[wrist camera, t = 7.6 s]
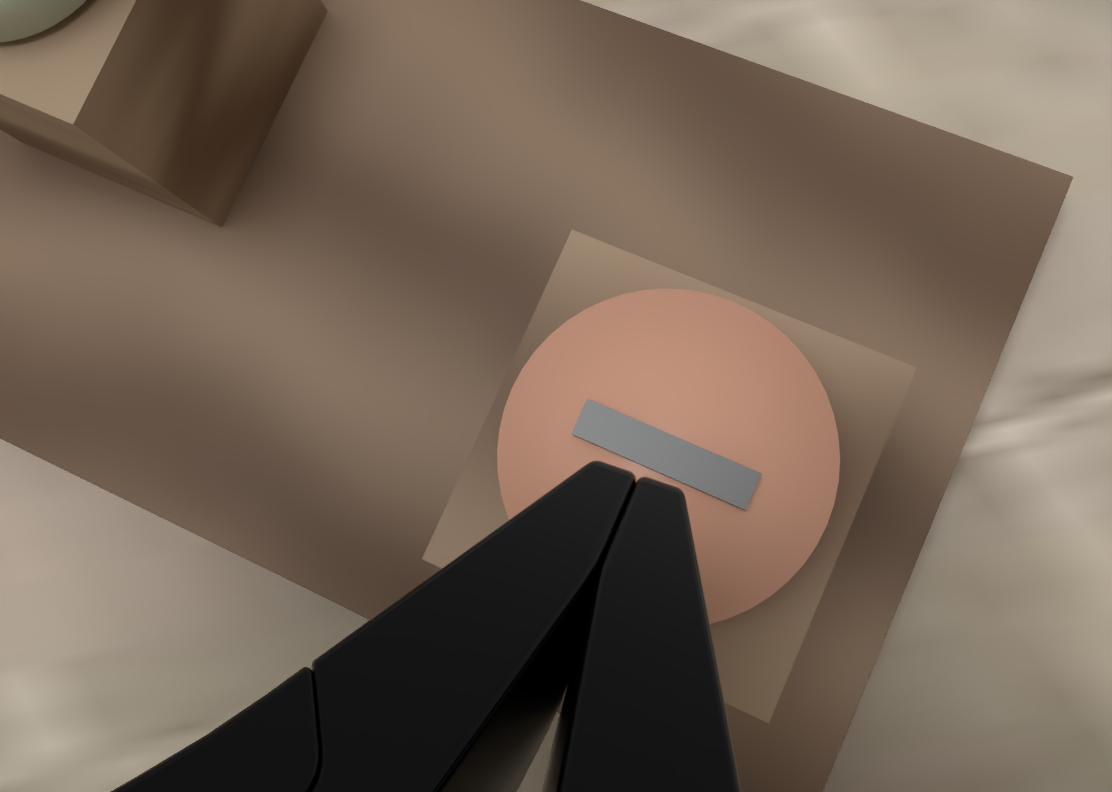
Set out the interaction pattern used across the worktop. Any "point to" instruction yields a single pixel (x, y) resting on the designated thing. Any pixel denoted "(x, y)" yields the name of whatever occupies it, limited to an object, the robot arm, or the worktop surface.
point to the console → (481, 286)
